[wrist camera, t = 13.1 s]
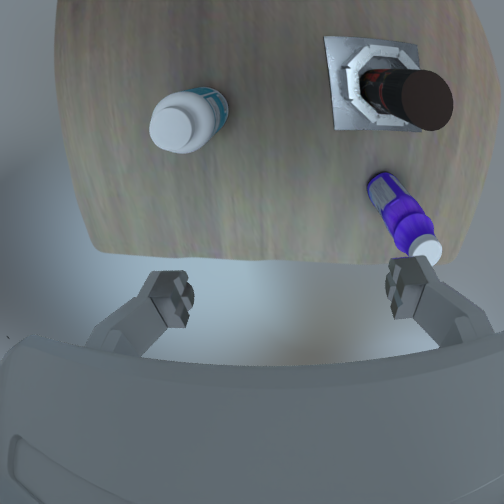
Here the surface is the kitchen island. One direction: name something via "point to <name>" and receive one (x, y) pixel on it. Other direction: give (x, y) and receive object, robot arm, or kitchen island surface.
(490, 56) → the kitchen island surface
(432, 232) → the bottle
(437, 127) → the deodorant
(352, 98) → the hub collar
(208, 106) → the pill bottle
